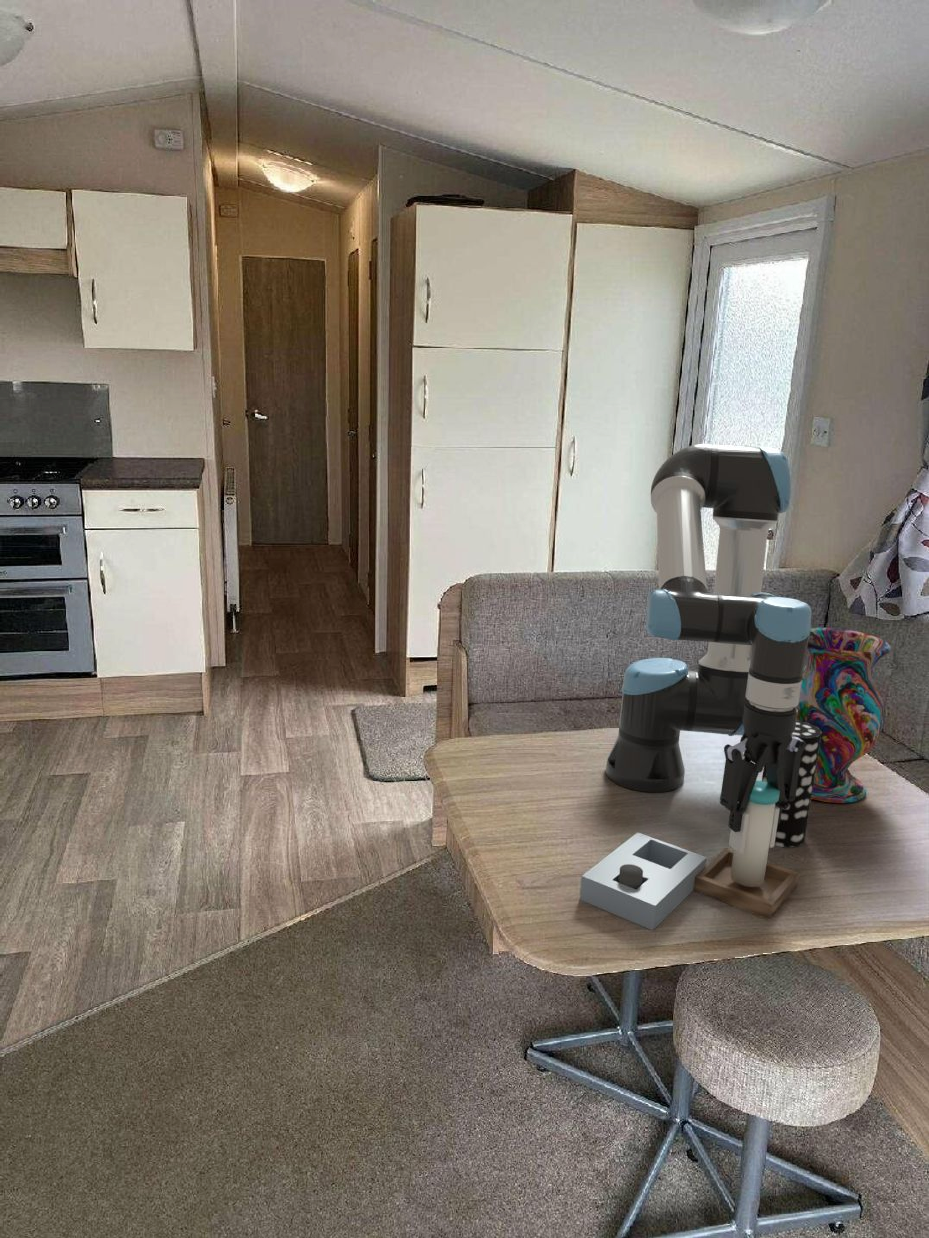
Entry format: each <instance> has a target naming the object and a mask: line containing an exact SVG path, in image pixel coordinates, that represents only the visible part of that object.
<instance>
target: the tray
mask: <svg viewBox="0 0 929 1238" xmlns="http://www.w3.org/2000/svg"><path fill="white" fill-rule="evenodd" d="M733 853H734V849H731V848H728V847H727V846H725V847H724V848H723V849H722V850H721V851H720V852H719V853H718V854H717V855H716V856H715V857H713V858H712V860H710V861H709V862H708V864H706V867H705V868H703V869H702V870H701V871H700V872H699V873H698V874H697V875H696V876H695V881H694V889H693V892H697V893H699V894H702V895H704V896H705V897H706V896H707V897H709V898H712V899H715V900H716V901H720V902H722V903H725V904H728V905H729V906H730V905H731V906H732V907H736V908H738V909H740V910H743V911H745V912H748V913H750V914H753V915H755V916H759V917H761V918H763V919H766V920H771V919H772V917H774V915H775V914H776V913H777V912H778V910H779V909H780V908H781V907H782V905H783V904H784V903H785V902H786V901H787V899H788V898H789V897H790V896H791V895H792V893H793V892H794V890H796V888H797V887H798V880H799V874H800V873H799V872H798V871H794V870H791V869H788V868H786V867H782V866H779V865H776V864H774V863H770V862H768V861H767V864H766V871H765V878H764V883H763V884H762V885H761V886H758V887H747V886H743V885H740V884H738V883H736V882H735V881H733V880H732V878H731V876H730V875H731V867H732V860H733Z"/></svg>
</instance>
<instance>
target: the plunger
mask: <svg viewBox="0 0 929 1238" xmlns="http://www.w3.org/2000/svg"><path fill="white" fill-rule="evenodd" d="M642 877H643V870H642V869H641V868H640V867H638V866H636V865H631V864H626V865H623V866H621V867H620V872H619V882H618V883H621V884H623V885H626V886H628V887H631V888H633V889H636V890H637V889H638V888H639V887H640V886H641V885H642Z"/></svg>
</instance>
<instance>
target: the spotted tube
mask: <svg viewBox="0 0 929 1238" xmlns="http://www.w3.org/2000/svg"><path fill="white" fill-rule="evenodd" d="M821 733H822V732H821V730H820V729H819V728H817V727H816V726H814V725H812V724H809V723H806V722H802V721H797V720H796V726H795V731H794V732H793V733H792V734H791V735H794V736H795V737H797V738H799V739H801V740H803V741H805V742H806V746H805V748H804V751H803V753H802V755H801V761H800V769H799V776H798V783H797V790H796V797H795V799H794V801H787V802H786V803H788V804H789V807H788V808H787V809H783V808H782V814H781V821H780V823H779V824H777V830H776V837H775V844H774V846H777V847H783V848H796V847H800V846H802V845H803V844H804V843H805V839H806V833H807V828H808V821H809V815H810V810H811V809H810V808H811V803H812V799H811V796H812V790H813V784H814V777H815V771H816V765H817V758H818V752H819V746H820V739H821ZM761 781H763V782H767V772H766V764H765V765H764V767H763V770H762V776H761ZM787 790H788V788H787Z"/></svg>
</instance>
